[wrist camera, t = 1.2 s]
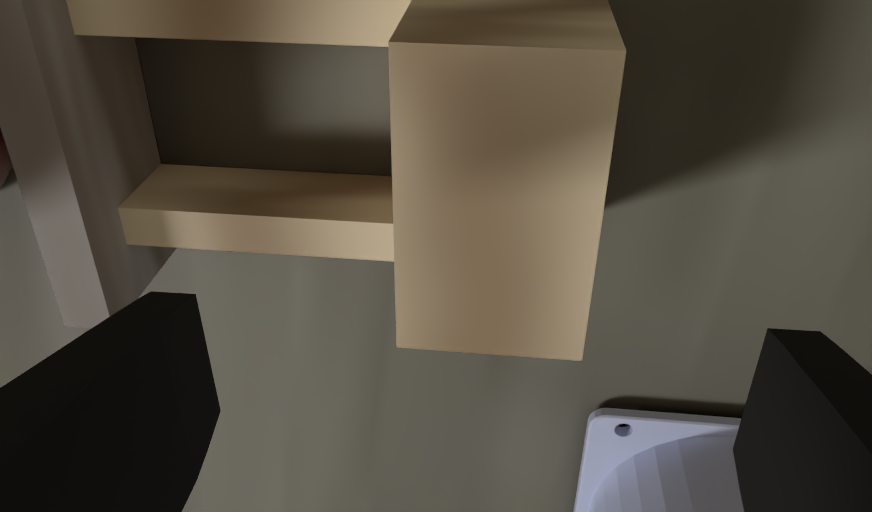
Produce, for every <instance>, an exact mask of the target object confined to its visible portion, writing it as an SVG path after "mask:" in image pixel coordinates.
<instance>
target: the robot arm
mask: <svg viewBox="0 0 872 512" xmlns="http://www.w3.org/2000/svg"><path fill="white" fill-rule="evenodd" d="M219 414H220V406H219V401H218V397H217V392H216V387H215V383H214V378H213V373H212V369H211V364H210V359H209V355H208V350H207V345H206V341H205V336H204V331H203V327H202V322H201V317H200V313H199V308H198V303H197V298H196V294H184V293H167V292H149V293H148V294H146V295H144V296H142V297H141V298H139V299H137V300H135V301H134V302H132V303H130V304H129V305H127V306H126V307H124V308H122V309H121V310H119V311H118V312H116V313H114V314H113V315H111V316H110V317H108V318H107V319H105V320H104V321H102V322H101V323H99V324H98V325H96V326H95V327H93V328H91V329H90V330H88V331H87V332H85V333H84V334H82V335H81V336H79V337H78V338H76V339H75V340H73V341H72V342H70V343H69V344H67V345H66V346H64V347H63V348H61V349H60V350H58V351H57V352H55V353H53V354H52V355H50V356H49V357H47V358H46V359H44V360H43V361H41V362H40V363H38V364H37V365H35V366H33V367H32V368H30V369H29V370H27V371H26V372H24V373H23V374H21V375H20V376H18V377H17V378H15V379H14V380H12V381H10V382H9V383H7V384H6V385H4V386H3V387H1V388H0V512H182V510H183V508H184V506H185V504H186V502H187V500H188V497H189V495H190V493H191V491H192V489H193V487H194V485H195V483H196V481H197V478H198V475H199V473H200V470H201V467H202V464H203V462H204V459H205V456H206V453H207V450H208V448H209V444H210V441H211V438H212V435H213V432H214V429H215V426H216V423H217V420H218V417H219ZM619 424H628V425H627V426H626V427H619V426H617V425H619ZM573 512H872V375H871V374H870V373H869V372H868V371H867V370H866V369H864V368H863V367H862V366H861V365H860V364H859V363H858V362H856V361H855V360H854V359H853V358H852V357H851V356H850V355H848V354H847V353H846V352H845V351H844V350H843V349H841V348H840V347H839V346H838V345H837V344H835V343H834V342H833V341H832V340H830V339H829V338H828V337H827V336H825V335H824V334H823V333H822V332H820V331H803V330H787V329H770V328H768V329H767V333H766V336H765V340H764V343H763V346H762V350H761V353H760V357H759V360H758V364H757V367H756V370H755V374H754V377H753V381H752V384H751V388H750V391H749V394H748V398H747V401H746V405H745V408H744V412H743V415H742V418H731V417H718V416H705V415H693V414H680V413H667V412H654V411H642V410H629V409H616V408H600V409H597V410H594V411H593V412H592V413H591V414H590V416H589V418H588V422H587V429H586V435H585V441H584V448H583V454H582V460H581V467H580V473H579V479H578V486H577V492H576V498H575V505H574V511H573Z"/></svg>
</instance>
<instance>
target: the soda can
mask: <svg viewBox="0 0 872 512" xmlns="http://www.w3.org/2000/svg"><path fill="white" fill-rule="evenodd" d="M12 168H13V165H12V162H11V159H10V156H9V152H8V149H7V146H6V143H5V140H4V137H3V134H2V131H1V128H0V188H1V187H2V186H3V184H4V182H5V181H6V179H7V177H8V175H9V173H10V171H11V170H12Z"/></svg>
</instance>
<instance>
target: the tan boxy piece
mask: <svg viewBox="0 0 872 512" xmlns="http://www.w3.org/2000/svg"><path fill="white" fill-rule="evenodd" d="M135 37H146V38H172V39H198V40H224V41H250V42H276V43H302V44H329V45H355V46H381V47H389V84H390V121H391V158H392V176H376V175H357V174H339V173H320V172H301V171H283V170H264V169H245V168H226V167H208V166H189V165H170V164H161V162H160V157H159V153H158V148H157V143H156V138H155V133H154V128H153V124H152V119H151V114H150V109H149V104H148V99H147V95H146V90H145V85H144V80H143V75H142V71H141V66H140V61H139V56H138V51H137V46H136V42H135ZM625 57H626V48H625V46H624V43H623V40H622V38H621V35H620V32H619V29H618V27H617V24H616V21H615V19H614V16H613V13H612V11H611V8H610V5H609V3H608V0H0V128H1V131H2V134H3V137H4V140H5V143H6V146H7V149H8V152H9V156H10V159H11V162H12V165H13V168H14V171H15V174H16V177H17V180H18V183H19V186H20V190H21V193H22V196H23V199H24V202H25V205H26V208H27V211H28V214H29V217H30V220H31V224H32V227H33V230H34V233H35V236H36V239H37V242H38V245H39V248H40V251H41V254H42V258H43V261H44V264H45V267H46V270H47V273H48V276H49V279H50V282H51V285H52V288H53V292H54V295H55V298H56V301H57V304H58V307H59V310H60V313H61V316H62V319H63V323H64V326H67V327H81V328H93V327H95V326H96V325H98V324H99V323H101V322H102V321H104V320H105V319H107V318H108V317H110V316H111V315H113V314H114V313H116V312H118V311H119V310H121V309H122V308H124V307H126V306H127V305H129V304H130V303H132V302H134V301H135V300H137V299H138V297H139V296H140V295H141V293H142V292H143V291H144V290H145V288H146V287H147V286H148V284H149V283H150V282H151V281H152V279H153V278H154V277H155V275H156V274H157V273H158V271H159V270H160V269H161V268H162V266H163V265H164V264H165V262H166V261H167V260H168V258H169V257H170V256H171V255H172V253H173V252H174V251H175V249H176V248H190V249H206V250H222V251H238V252H254V253H269V254H285V255H301V256H317V257H333V258H348V259H364V260H380V261H394V269H395V306H396V343H397V347H400V348H413V349H427V350H441V351H454V352H468V353H482V354H495V355H509V356H523V357H536V358H550V359H563V360H577V361H582V357H583V350H584V343H585V336H586V329H587V322H588V315H589V308H590V301H591V294H592V287H593V280H594V273H595V266H596V259H597V252H598V245H599V238H600V231H601V225H602V218H603V211H604V204H605V197H606V190H607V183H608V176H609V169H610V162H611V155H612V148H613V141H614V134H615V127H616V120H617V113H618V106H619V99H620V92H621V85H622V78H623V71H624V64H625Z"/></svg>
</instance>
